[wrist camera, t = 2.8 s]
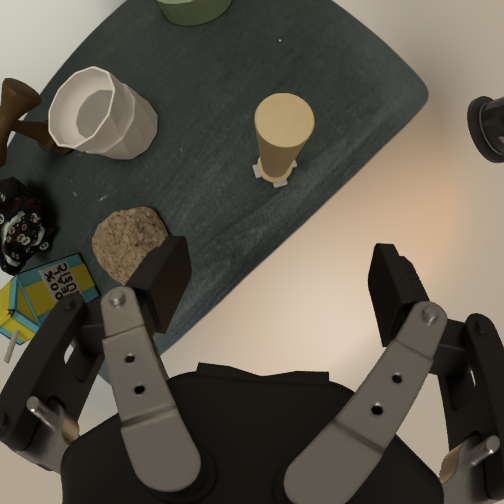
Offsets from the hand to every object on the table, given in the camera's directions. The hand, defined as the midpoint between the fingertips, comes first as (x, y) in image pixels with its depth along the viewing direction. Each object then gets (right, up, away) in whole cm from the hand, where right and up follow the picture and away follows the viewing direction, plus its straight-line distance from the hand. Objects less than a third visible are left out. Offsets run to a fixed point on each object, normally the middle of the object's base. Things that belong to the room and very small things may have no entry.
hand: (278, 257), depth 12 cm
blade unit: (+2, +10, +21) cm, 23 cm away
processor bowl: (-9, +37, +17) cm, 41 cm away
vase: (-17, +16, +21) cm, 32 cm away
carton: (-27, -5, +25) cm, 37 cm away
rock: (-16, +1, +24) cm, 28 cm away
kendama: (-28, +17, +21) cm, 39 cm away
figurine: (-36, +6, +24) cm, 43 cm away
